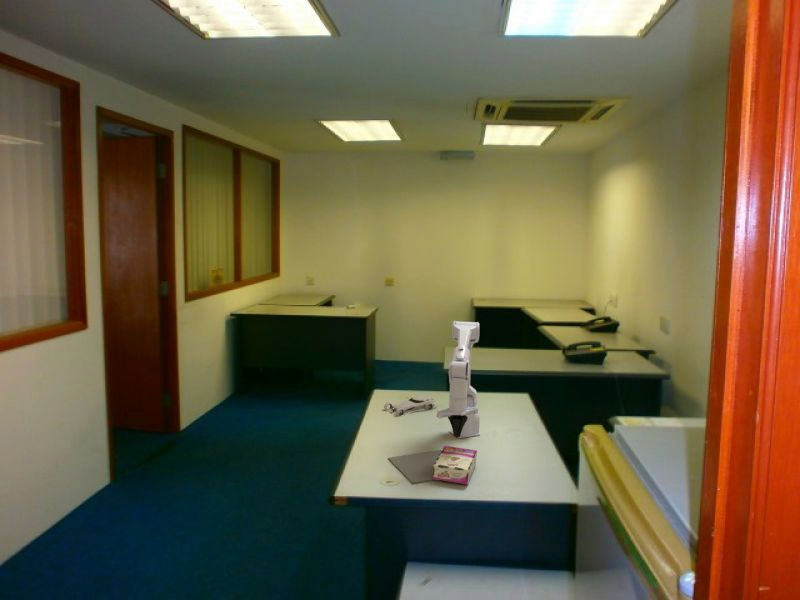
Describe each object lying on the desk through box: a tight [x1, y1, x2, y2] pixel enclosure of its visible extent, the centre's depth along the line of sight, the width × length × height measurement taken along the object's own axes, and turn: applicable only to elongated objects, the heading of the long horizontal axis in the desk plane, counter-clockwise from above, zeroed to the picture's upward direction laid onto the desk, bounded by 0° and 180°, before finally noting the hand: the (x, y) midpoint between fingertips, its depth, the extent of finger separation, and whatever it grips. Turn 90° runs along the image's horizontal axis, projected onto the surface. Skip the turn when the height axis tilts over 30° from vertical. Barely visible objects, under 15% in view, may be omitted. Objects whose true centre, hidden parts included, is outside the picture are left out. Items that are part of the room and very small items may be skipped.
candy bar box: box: [433, 445, 478, 485], centre depth 181 cm, size 11×5×16 cm
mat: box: [387, 449, 443, 485], centre depth 186 cm, size 20×20×1 cm
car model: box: [383, 395, 438, 417], centre depth 244 cm, size 11×24×5 cm, turn 125°
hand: (456, 436), depth 189 cm, fingers closed
